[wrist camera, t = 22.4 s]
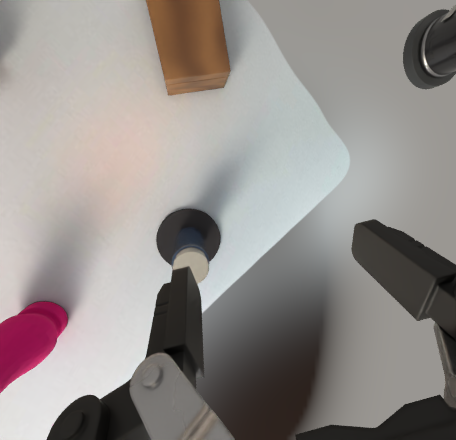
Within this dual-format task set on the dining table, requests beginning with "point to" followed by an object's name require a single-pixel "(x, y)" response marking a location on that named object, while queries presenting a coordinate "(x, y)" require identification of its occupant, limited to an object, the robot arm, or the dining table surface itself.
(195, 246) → the cylinder
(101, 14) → the dining table surface
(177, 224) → the mat
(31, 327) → the pepper mill
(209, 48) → the shelf
